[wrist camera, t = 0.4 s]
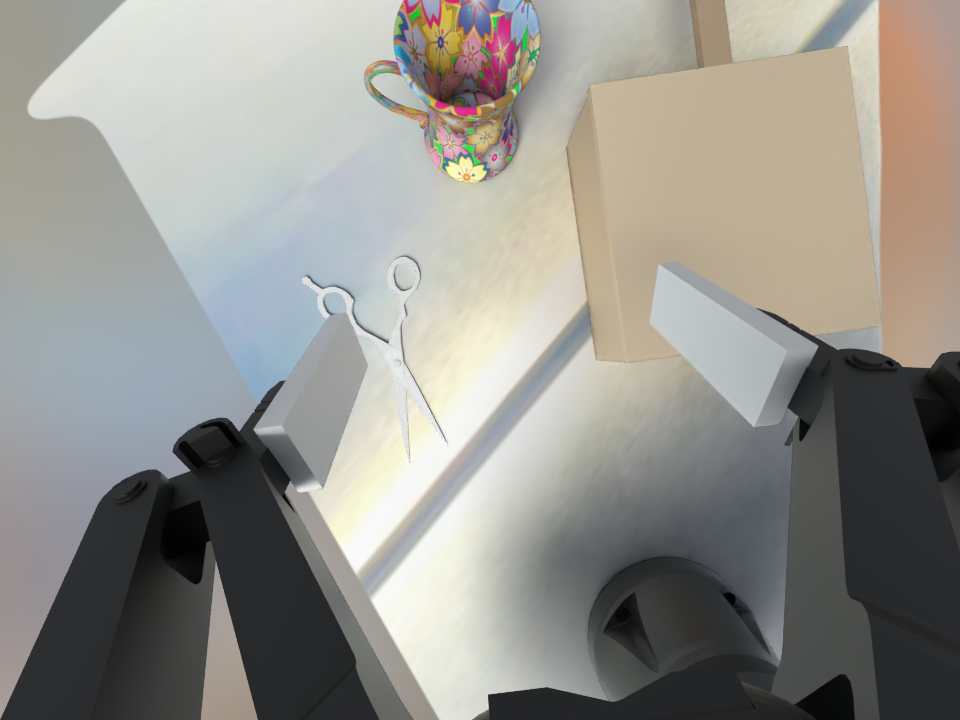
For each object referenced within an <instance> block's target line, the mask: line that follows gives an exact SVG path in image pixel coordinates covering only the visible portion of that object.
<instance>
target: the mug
mask: <svg viewBox="0 0 960 720" xmlns="http://www.w3.org/2000/svg"><path fill="white" fill-rule="evenodd" d="M540 44H541V34H540V26H539V21H538V17H537V14H536V11H535V8H534V6H533V4H532V2H531V0H404V1H403V3H402V5H401V7H400V9H399V12H398V15H397V18H396V22H395V28H394V50H395V56H396V60H397V62H394V61H388V60H383V61H378V62H375V63H373V64H371V65H370V66H369V67H368V68H367V69H366V71H365V74H364V82H365V86H366V89H367V91H368V92H369V94H370V95H371V96H372V97H373V98H374V99H375V100H376V101H377V102H378V103H380V104H381V105H382V106H384V107H386V108H387V109H389V110H391V111H393V112H395V113H397V114H399V115H402V116H405V117H408V118H412V119H416V120H420V127H421V128H422V129H424V128H425V135H424V136H425V144H426V148H427V151H428V154H429V156H430V158H431V159H432V161H433V162H434V164H435V165H436V166H437V167H438V169H439V170H441V171H442V172H443V173H444V174H446V175H447V176H449V177H451V178H453V179H455V180H458V181H462V182H481V181H484V180H487V179H490V178H492V177H494V176H495V175H497V174H498V173H500V172H501V171H502V170H503V169H504V168H505V167H506V166H507V165H508V163H509V162H510V160H511V159H512V157H513V155H514V153H515V150H516V147H517V142H518V127H517V122H516V119H515V116H514V114H513V112H512V105H513V102H514V100H515V98H516V96H517V95H518V94H519V93H520V92H521V91H522V90H523V89H524V87H525V86H526V84H527V83H528V81H529V80H530V78H531V76H532V74H533V72H534V70H535V67H536V64H537V61H538V57H539V52H540ZM382 73H393V74H397V75H400V76H402V77H404V79H405V81H406V82H407V84H408V85H409V86H410V88H411V89H412V90H413V91H414V93H415V94H416V95H417V96H418V97H420V98H421V99H422V100H423V101H424V103H425V104H426V106H427V108H428V111H429V115H428V114H427V113H426V112H423V111H420V110H416V109H412V108H408V107H405V106H402V105H400V104H398V103H396V102H394V101H392V100H390V99H388V98H387V97H385V96H384V95H382V94H381V93H380V92H379V91H377V90H376V89H375V88H374V86H373V85H372V84H371V82H370V81H371V79H372V78H373V77H374V76H376V75H378V74H382Z"/></svg>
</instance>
